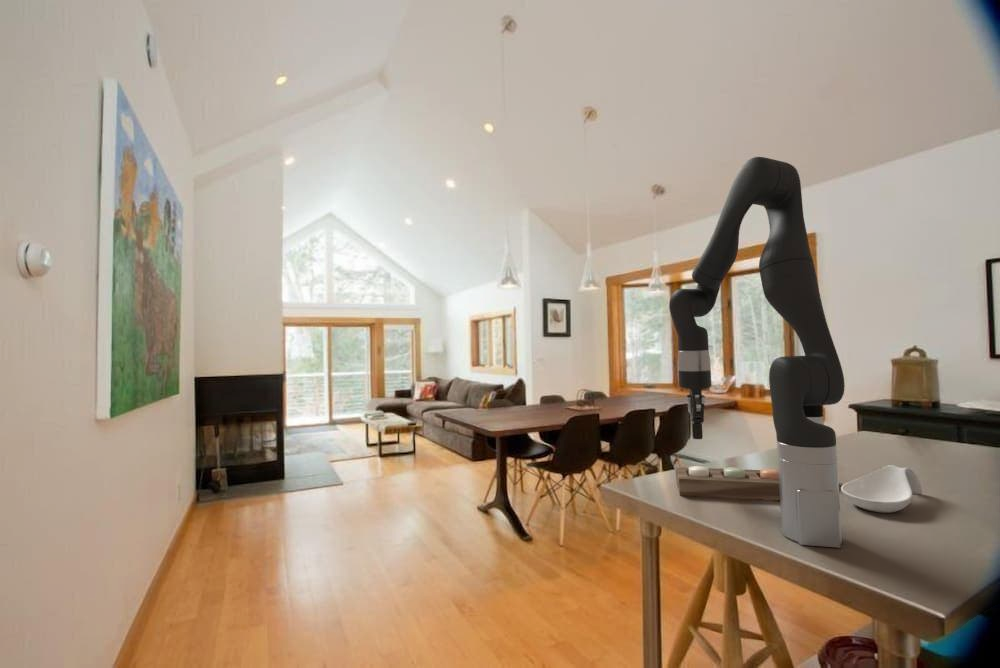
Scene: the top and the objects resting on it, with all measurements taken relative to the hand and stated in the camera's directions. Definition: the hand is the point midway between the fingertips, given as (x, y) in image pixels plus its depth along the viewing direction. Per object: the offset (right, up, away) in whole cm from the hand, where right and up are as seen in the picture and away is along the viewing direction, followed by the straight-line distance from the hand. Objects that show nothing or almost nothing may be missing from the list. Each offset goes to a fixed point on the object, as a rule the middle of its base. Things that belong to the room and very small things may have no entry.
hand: (697, 438), depth 115 cm
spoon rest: (+36, -11, -14) cm, 40 cm away
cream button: (0, -10, 0) cm, 10 cm away
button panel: (+8, -12, -3) cm, 15 cm away
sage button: (+8, -10, -3) cm, 13 cm away
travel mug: (+31, -12, +3) cm, 33 cm away
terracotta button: (+16, -10, -5) cm, 19 cm away
